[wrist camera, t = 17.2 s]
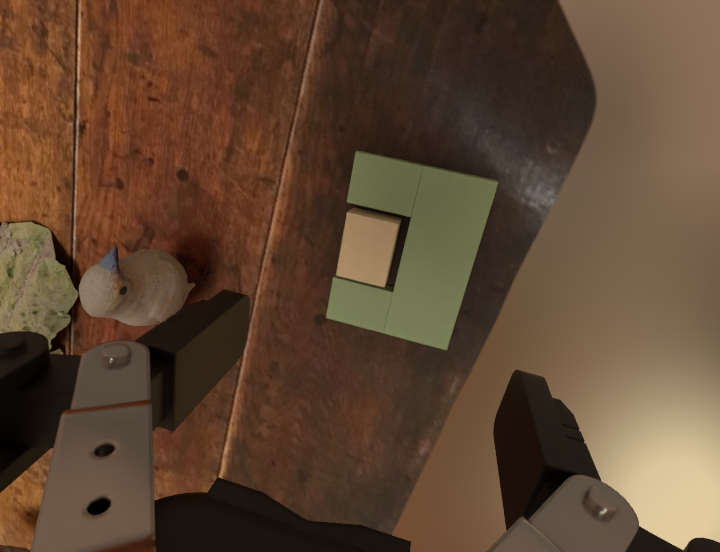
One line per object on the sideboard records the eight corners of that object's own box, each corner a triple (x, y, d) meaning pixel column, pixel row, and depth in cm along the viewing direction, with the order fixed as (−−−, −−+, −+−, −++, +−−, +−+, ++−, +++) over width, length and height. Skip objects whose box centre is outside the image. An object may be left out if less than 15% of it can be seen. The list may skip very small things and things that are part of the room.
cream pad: (353, 206, 38) (346, 212, 36) (402, 218, 38) (398, 224, 35) (342, 267, 40) (335, 275, 38) (388, 278, 40) (384, 288, 37)
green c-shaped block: (359, 150, 36) (355, 151, 35) (496, 180, 35) (498, 182, 34) (330, 311, 42) (325, 318, 41) (446, 342, 41) (446, 350, 39)
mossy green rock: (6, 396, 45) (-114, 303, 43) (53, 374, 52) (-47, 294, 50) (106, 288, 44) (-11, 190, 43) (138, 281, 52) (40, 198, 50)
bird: (237, 223, 41) (129, 271, 27) (195, 327, 46) (87, 411, 32) (194, 198, 41) (65, 234, 27) (157, 305, 46) (33, 380, 32)
